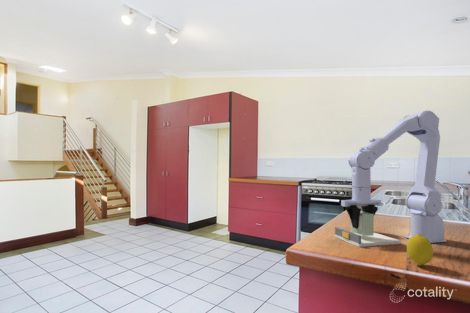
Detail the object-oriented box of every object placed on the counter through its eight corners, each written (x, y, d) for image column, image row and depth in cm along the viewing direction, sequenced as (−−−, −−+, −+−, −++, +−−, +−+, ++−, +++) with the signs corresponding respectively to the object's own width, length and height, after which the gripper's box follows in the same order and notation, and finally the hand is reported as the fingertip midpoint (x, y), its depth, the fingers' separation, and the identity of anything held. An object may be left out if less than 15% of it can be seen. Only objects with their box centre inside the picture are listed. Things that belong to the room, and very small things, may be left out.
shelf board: (372, 234, 99) (372, 225, 99) (400, 243, 87) (400, 233, 87) (334, 237, 94) (334, 227, 95) (357, 247, 83) (357, 235, 83)
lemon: (438, 270, 64) (437, 237, 65) (413, 269, 65) (412, 236, 66) (426, 262, 70) (425, 231, 70) (402, 261, 71) (402, 230, 71)
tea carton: (360, 231, 94) (360, 211, 94) (373, 235, 88) (373, 214, 88) (349, 231, 93) (350, 211, 93) (361, 235, 87) (362, 214, 87)
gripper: (370, 186, 97) (370, 224, 96) (335, 186, 93) (335, 225, 93) (385, 187, 90) (386, 228, 89) (349, 188, 86) (349, 230, 86)
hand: (361, 227), depth 91 cm, fingers closed on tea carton, 4 cm apart
